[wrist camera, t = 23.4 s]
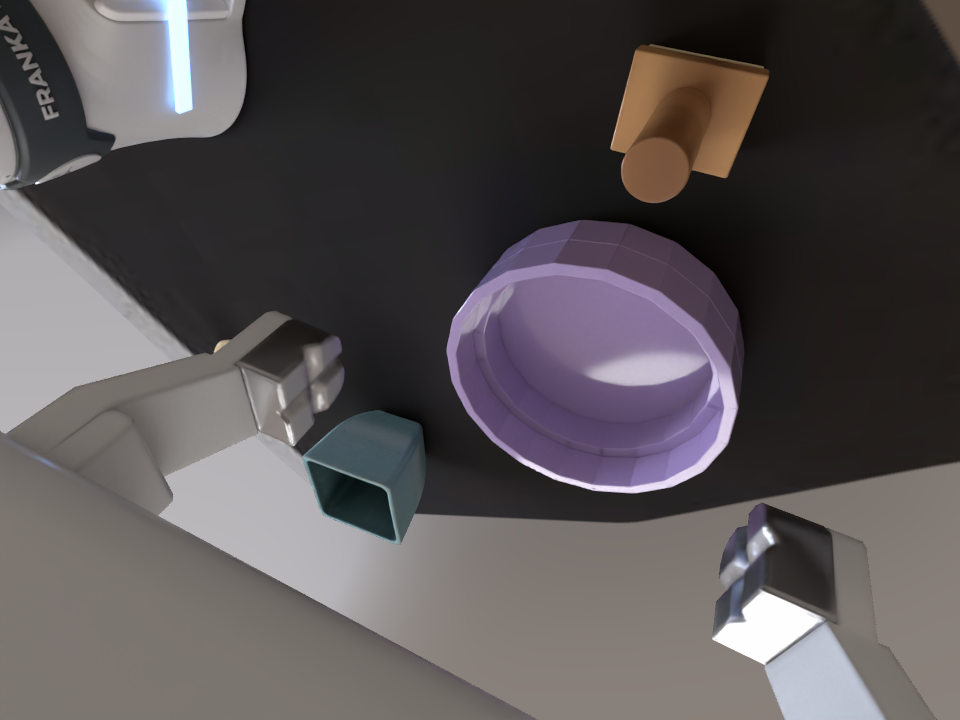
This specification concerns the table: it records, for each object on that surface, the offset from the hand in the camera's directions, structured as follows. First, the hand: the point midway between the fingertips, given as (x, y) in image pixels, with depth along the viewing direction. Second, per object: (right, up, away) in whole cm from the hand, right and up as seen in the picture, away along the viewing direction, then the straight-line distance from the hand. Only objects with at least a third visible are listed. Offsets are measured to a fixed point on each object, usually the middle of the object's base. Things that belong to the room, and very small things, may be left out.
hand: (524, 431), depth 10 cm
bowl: (+7, +3, +26) cm, 28 cm away
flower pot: (-8, -6, +43) cm, 45 cm away
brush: (+9, +14, +16) cm, 23 cm away
